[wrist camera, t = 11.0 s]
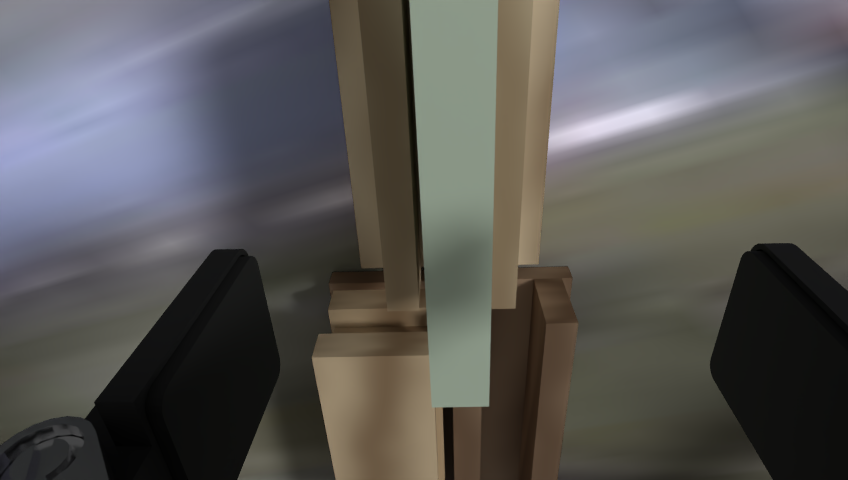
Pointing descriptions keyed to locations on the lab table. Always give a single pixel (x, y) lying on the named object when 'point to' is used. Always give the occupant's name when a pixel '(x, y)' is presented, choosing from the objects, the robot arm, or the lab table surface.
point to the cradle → (397, 139)
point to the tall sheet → (456, 188)
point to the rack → (411, 390)
